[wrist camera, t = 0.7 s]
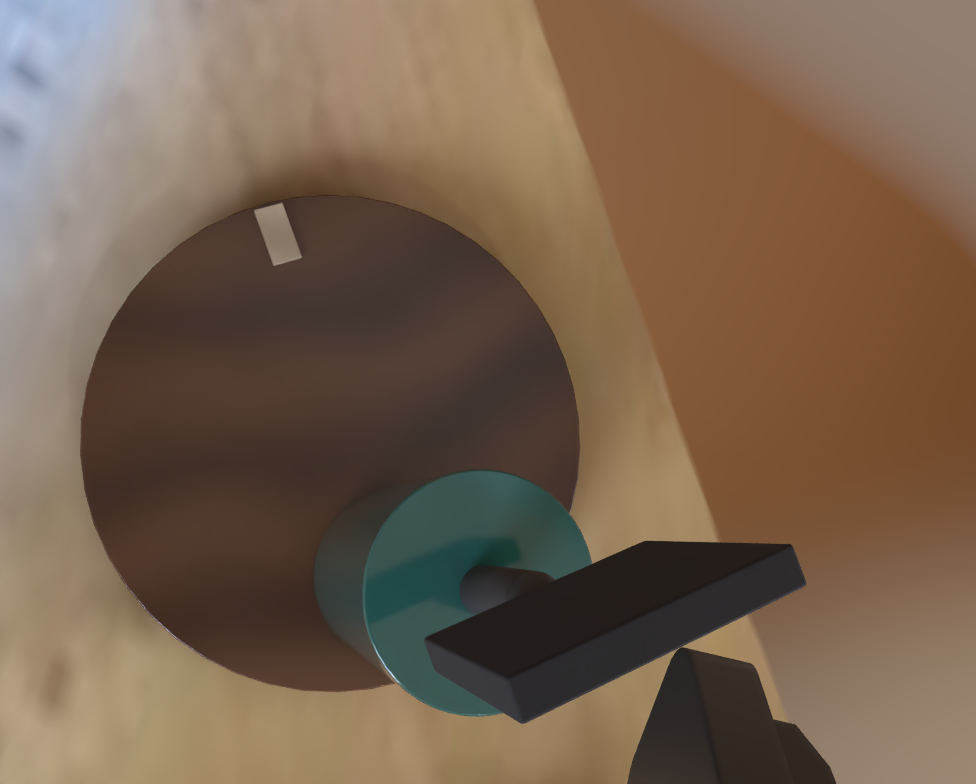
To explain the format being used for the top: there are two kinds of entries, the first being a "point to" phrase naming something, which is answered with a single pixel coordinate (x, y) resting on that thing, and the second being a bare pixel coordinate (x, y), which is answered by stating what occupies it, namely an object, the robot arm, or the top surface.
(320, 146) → the top surface
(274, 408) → the teal post stand
